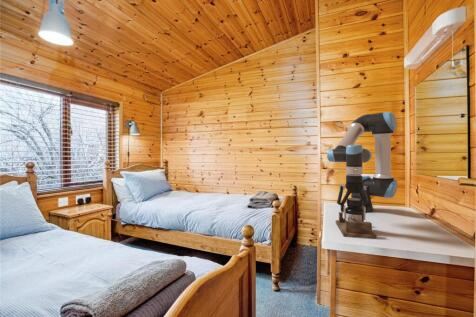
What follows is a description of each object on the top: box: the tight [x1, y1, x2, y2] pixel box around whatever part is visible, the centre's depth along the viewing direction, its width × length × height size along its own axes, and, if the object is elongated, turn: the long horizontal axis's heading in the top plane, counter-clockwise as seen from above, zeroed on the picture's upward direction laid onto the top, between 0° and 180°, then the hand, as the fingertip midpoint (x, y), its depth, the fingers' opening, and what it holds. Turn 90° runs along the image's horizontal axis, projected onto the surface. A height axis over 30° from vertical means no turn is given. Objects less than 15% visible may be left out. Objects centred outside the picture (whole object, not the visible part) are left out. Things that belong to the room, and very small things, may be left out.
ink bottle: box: [345, 197, 365, 222], centre depth 120 cm, size 10×9×12 cm
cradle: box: [335, 211, 377, 240], centre depth 120 cm, size 14×22×6 cm, turn 167°
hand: (353, 218), depth 120 cm, fingers closed on ink bottle, 9 cm apart
